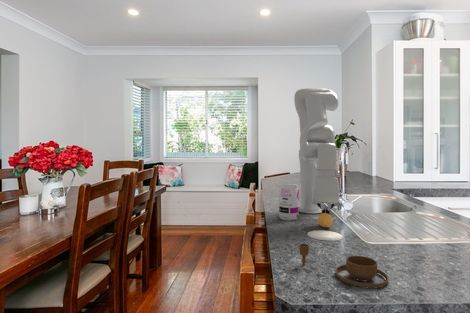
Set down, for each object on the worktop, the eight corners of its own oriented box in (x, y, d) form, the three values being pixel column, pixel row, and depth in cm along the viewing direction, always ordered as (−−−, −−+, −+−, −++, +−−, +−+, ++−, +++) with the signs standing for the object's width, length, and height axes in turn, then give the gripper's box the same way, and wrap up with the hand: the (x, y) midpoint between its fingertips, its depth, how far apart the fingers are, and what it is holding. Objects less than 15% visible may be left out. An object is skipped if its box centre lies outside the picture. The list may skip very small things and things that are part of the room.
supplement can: (297, 216, 141) (297, 183, 140) (299, 221, 133) (299, 185, 132) (278, 216, 142) (279, 182, 141) (279, 220, 134) (280, 184, 133)
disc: (308, 229, 120) (308, 229, 120) (342, 232, 116) (342, 232, 116) (306, 238, 108) (306, 238, 108) (344, 242, 105) (344, 241, 105)
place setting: (354, 299, 67) (355, 271, 67) (294, 266, 85) (294, 244, 85) (406, 283, 76) (407, 258, 75) (342, 256, 93) (342, 236, 93)
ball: (317, 224, 127) (318, 211, 127) (332, 226, 126) (332, 212, 125) (317, 228, 122) (317, 214, 122) (332, 229, 120) (332, 215, 120)
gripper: (345, 174, 129) (344, 219, 130) (307, 172, 133) (306, 216, 133) (346, 175, 122) (345, 223, 122) (306, 174, 126) (305, 220, 126)
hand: (325, 219), depth 128 cm, fingers closed
